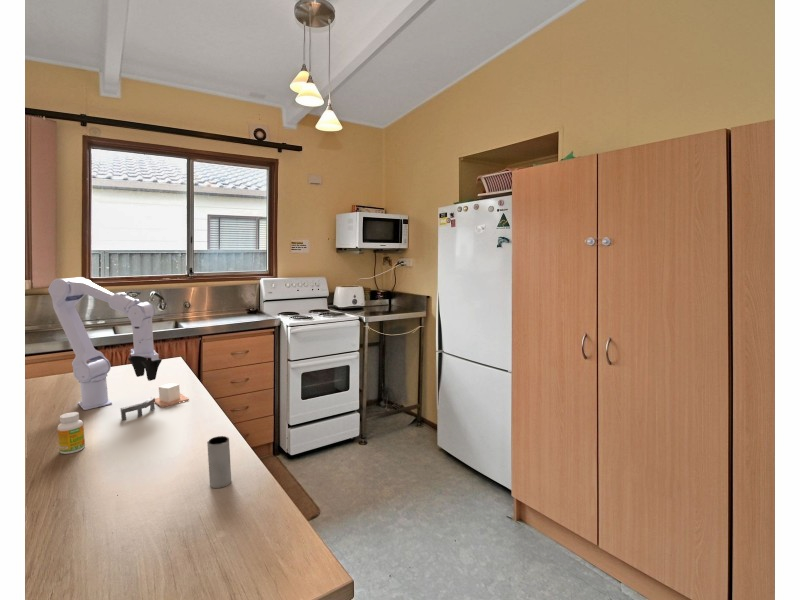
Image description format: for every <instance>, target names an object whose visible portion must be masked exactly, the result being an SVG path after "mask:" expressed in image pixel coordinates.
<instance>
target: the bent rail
mask: <svg viewBox="0 0 800 600" xmlns="http://www.w3.org/2000/svg"><path fill="white" fill-rule="evenodd" d="M155 399H156V397H150V398H148V399H147V400H145V401H143V402H141V403H137V404H132V405H129V406H125V407H120V408H119V409H120V415H121V417H120V419H121V421H126V420H127V415H126V414H127V413H130V412H135V411H137V417H141V416H143V409H147V408H148V407H149V408H150V410H151V411H153V410H155V403H154V402H155Z"/></svg>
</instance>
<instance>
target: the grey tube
mask: <svg viewBox="0 0 800 600" xmlns="http://www.w3.org/2000/svg"><path fill="white" fill-rule="evenodd" d="M230 448H231V447H230V438H229V437H228V436H225V435H220V436H219V435H218V436H215V437H211V438H209V439H208V440H207V462H208V473H209V474H208V476H209V477H208V478H209V486H210V487H211V488H213V489H221V488H225V487H227V486H228V485H230V484H231V482H232V469H231V450H230Z"/></svg>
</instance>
